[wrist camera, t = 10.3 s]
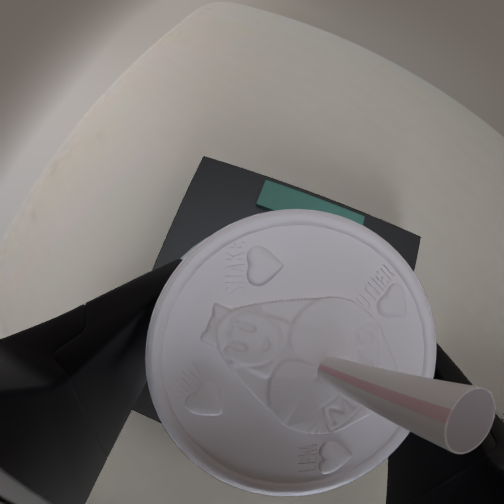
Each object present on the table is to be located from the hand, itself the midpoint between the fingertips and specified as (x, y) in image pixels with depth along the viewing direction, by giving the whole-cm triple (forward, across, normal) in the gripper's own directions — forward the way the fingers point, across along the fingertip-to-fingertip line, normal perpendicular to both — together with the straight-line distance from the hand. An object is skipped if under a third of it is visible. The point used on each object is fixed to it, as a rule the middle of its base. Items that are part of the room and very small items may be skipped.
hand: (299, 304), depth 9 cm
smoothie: (+4, 0, +6) cm, 7 cm away
